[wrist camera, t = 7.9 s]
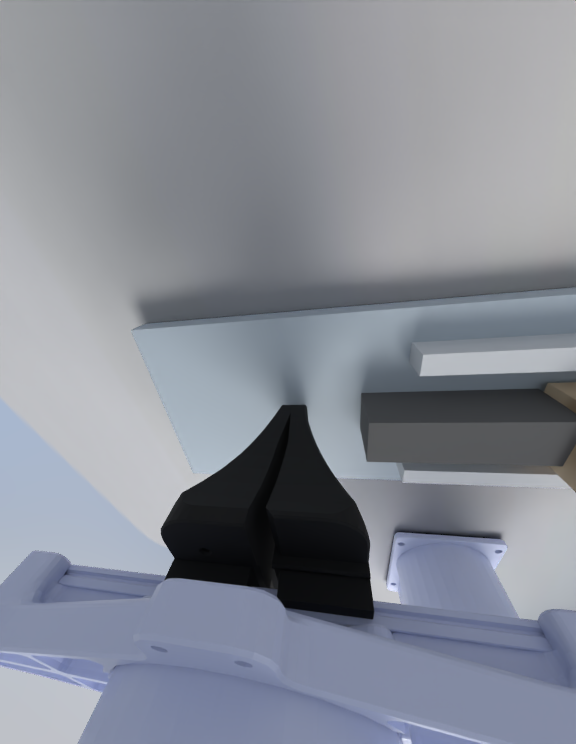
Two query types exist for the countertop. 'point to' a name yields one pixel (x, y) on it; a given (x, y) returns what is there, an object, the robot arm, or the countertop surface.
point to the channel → (357, 373)
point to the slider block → (572, 398)
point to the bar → (467, 427)
